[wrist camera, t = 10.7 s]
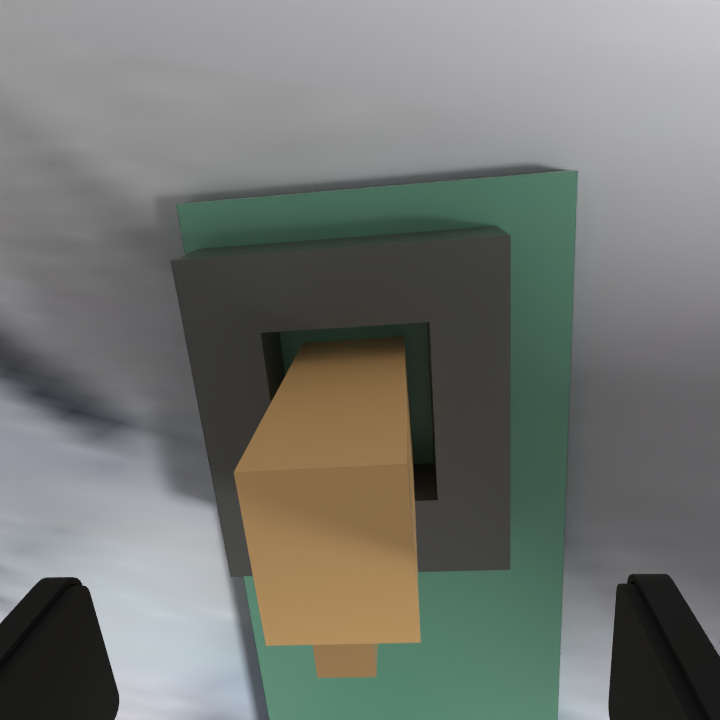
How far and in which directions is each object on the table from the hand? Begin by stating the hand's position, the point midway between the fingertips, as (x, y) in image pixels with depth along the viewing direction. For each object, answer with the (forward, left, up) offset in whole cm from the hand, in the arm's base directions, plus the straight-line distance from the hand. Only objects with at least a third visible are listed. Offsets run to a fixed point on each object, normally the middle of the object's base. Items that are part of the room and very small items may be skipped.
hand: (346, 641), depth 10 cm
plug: (+1, 0, -11) cm, 11 cm away
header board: (0, +6, -13) cm, 14 cm away
